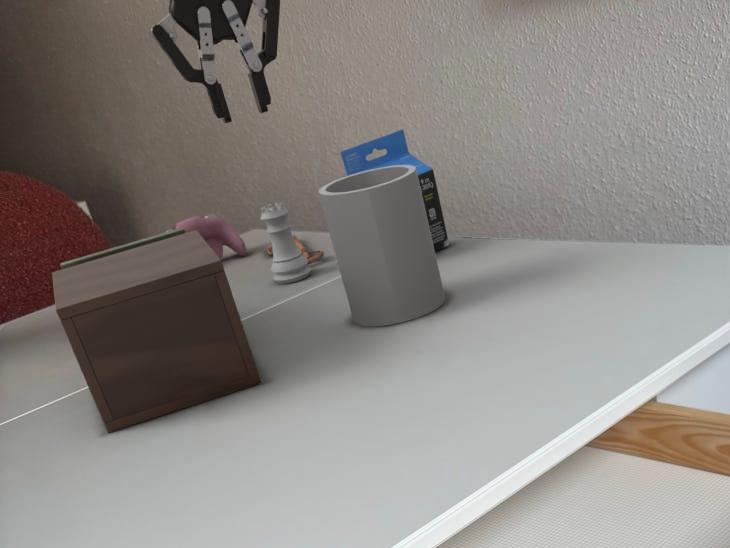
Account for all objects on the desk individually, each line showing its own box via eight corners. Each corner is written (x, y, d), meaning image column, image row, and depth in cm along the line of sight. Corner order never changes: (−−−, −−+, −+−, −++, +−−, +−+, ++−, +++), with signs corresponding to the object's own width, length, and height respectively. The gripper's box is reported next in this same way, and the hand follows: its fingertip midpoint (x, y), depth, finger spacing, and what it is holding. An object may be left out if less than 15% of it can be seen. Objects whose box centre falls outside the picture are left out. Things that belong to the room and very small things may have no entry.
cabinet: (98, 383, 107) (51, 272, 101) (234, 340, 109) (196, 229, 103) (107, 433, 94) (55, 309, 88) (261, 383, 96) (220, 259, 90)
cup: (444, 313, 102) (413, 178, 95) (349, 333, 103) (312, 201, 96) (445, 285, 109) (417, 158, 103) (357, 304, 110) (324, 180, 104)
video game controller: (242, 264, 143) (215, 214, 142) (252, 250, 139) (224, 198, 138) (176, 290, 138) (147, 238, 137) (184, 276, 134) (155, 223, 133)
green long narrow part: (93, 338, 117) (58, 254, 113) (206, 303, 120) (177, 219, 115) (103, 388, 102) (64, 293, 97) (234, 346, 104) (202, 252, 99)
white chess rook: (266, 285, 125) (244, 212, 120) (292, 271, 128) (271, 200, 123) (294, 284, 122) (272, 210, 118) (320, 270, 125) (299, 198, 121)
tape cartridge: (390, 273, 118) (360, 151, 111) (368, 270, 121) (338, 152, 114) (451, 245, 122) (425, 127, 115) (429, 244, 125) (402, 128, 118)
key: (267, 252, 140) (280, 276, 127) (264, 245, 139) (277, 269, 127) (309, 236, 140) (327, 258, 128) (306, 229, 140) (324, 250, 127)
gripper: (251, -88, 111) (301, 97, 120) (114, -55, 108) (176, 132, 117) (264, -94, 104) (316, 101, 114) (119, -59, 102) (184, 138, 111)
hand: (245, 116), depth 116 cm, fingers open, 3 cm apart
